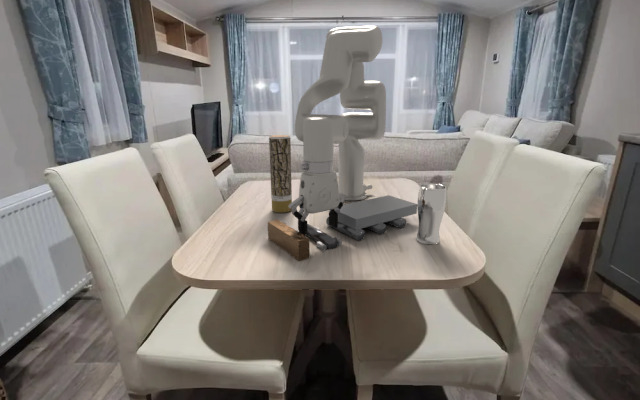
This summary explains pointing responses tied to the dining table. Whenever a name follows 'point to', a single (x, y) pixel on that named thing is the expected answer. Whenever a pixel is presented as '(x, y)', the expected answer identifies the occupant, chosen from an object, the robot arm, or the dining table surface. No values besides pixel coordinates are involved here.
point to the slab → (375, 211)
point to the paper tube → (280, 172)
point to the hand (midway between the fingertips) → (318, 229)
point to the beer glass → (430, 212)
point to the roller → (321, 237)
